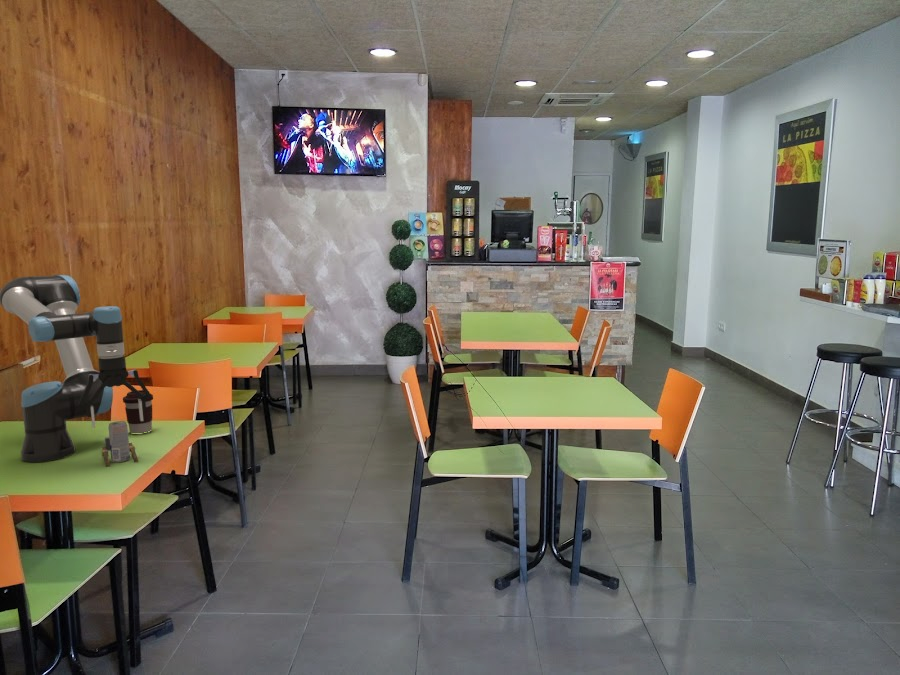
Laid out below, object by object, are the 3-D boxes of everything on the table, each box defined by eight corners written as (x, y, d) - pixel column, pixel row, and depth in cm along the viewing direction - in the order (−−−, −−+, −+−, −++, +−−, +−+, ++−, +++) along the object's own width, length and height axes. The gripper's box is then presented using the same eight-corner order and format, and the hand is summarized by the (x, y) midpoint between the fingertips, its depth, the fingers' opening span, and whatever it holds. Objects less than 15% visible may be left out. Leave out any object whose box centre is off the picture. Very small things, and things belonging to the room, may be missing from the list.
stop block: (106, 450, 231) (105, 439, 230) (105, 449, 232) (104, 437, 232) (128, 447, 234) (127, 435, 233) (128, 445, 236) (127, 434, 235)
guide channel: (105, 467, 213) (104, 462, 213) (101, 450, 231) (100, 446, 231) (139, 461, 218) (138, 457, 218) (132, 445, 235) (132, 441, 235)
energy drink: (123, 456, 224) (120, 420, 222) (133, 458, 221) (130, 422, 219) (107, 461, 219) (104, 424, 218) (118, 463, 217) (115, 426, 215)
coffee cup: (134, 429, 257) (130, 389, 255) (160, 428, 257) (157, 388, 255) (120, 436, 247) (116, 395, 245) (148, 436, 247) (144, 394, 245)
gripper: (65, 362, 206) (73, 432, 209) (156, 353, 218) (162, 420, 221) (65, 359, 213) (72, 427, 215) (153, 351, 225) (159, 415, 227)
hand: (118, 423), depth 218 cm, fingers open, 13 cm apart
